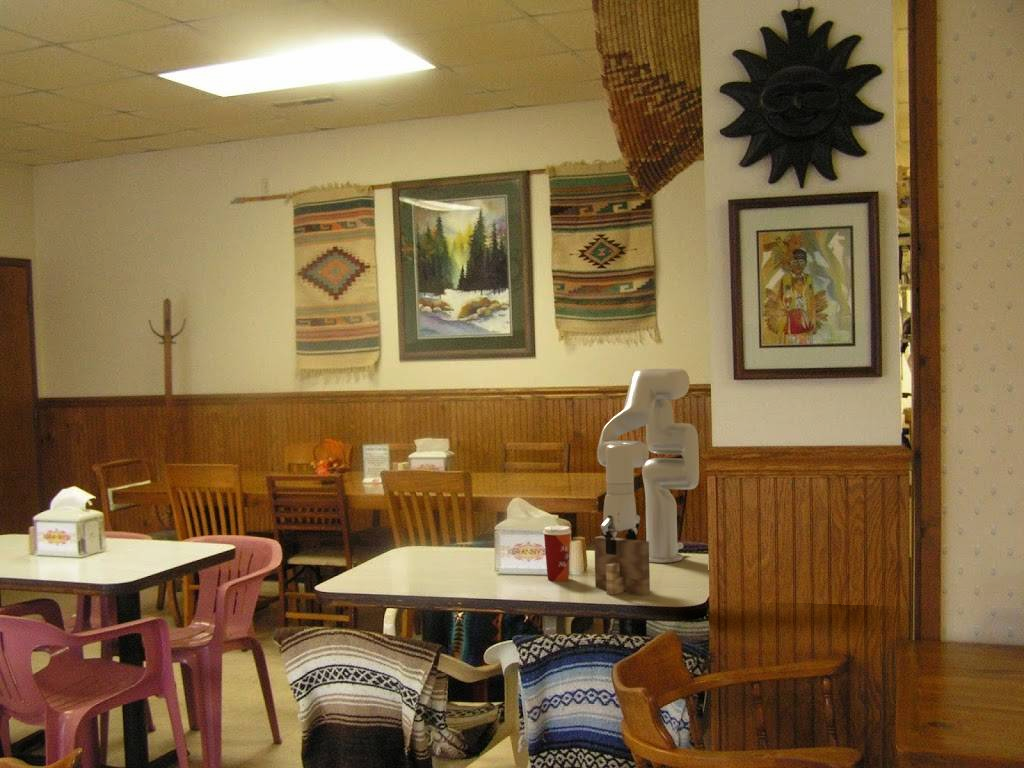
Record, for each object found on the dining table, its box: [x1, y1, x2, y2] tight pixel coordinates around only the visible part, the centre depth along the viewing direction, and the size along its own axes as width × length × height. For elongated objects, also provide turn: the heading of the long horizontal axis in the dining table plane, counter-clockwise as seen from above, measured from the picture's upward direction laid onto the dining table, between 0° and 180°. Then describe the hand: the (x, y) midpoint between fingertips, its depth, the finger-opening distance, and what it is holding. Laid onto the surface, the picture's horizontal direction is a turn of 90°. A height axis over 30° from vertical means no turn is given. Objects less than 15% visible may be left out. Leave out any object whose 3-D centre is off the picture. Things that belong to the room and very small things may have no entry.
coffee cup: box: [542, 525, 572, 582], centre depth 305 cm, size 8×8×15 cm
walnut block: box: [594, 535, 651, 596], centre depth 289 cm, size 16×3×14 cm, turn 49°
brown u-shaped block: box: [605, 563, 627, 596], centre depth 289 cm, size 12×2×8 cm, turn 140°
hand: (621, 551), depth 289 cm, fingers open, 9 cm apart
